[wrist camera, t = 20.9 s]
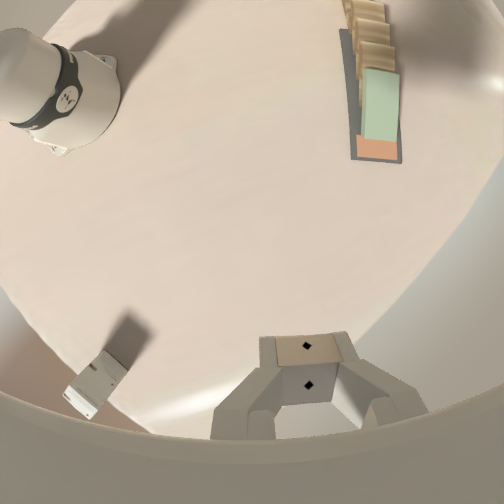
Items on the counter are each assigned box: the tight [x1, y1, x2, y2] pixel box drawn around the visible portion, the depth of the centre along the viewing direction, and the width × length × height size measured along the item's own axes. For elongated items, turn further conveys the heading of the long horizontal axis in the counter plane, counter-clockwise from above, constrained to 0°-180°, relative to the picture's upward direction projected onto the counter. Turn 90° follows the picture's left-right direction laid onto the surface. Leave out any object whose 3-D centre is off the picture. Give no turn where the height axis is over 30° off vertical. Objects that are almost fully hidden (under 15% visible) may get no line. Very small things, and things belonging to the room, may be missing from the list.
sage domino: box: [361, 68, 399, 142], centre depth 33 cm, size 2×5×10 cm
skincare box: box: [63, 350, 128, 420], centre depth 40 cm, size 6×4×12 cm
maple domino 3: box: [355, 18, 390, 80], centre depth 31 cm, size 2×5×10 cm
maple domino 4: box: [359, 41, 395, 107], centre depth 32 cm, size 2×5×10 cm
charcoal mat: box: [339, 29, 402, 164], centre depth 35 cm, size 22×8×1 cm, turn 1°
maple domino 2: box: [350, 0, 385, 55], centre depth 31 cm, size 2×5×10 cm
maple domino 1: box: [342, 0, 372, 34], centre depth 32 cm, size 2×5×10 cm
